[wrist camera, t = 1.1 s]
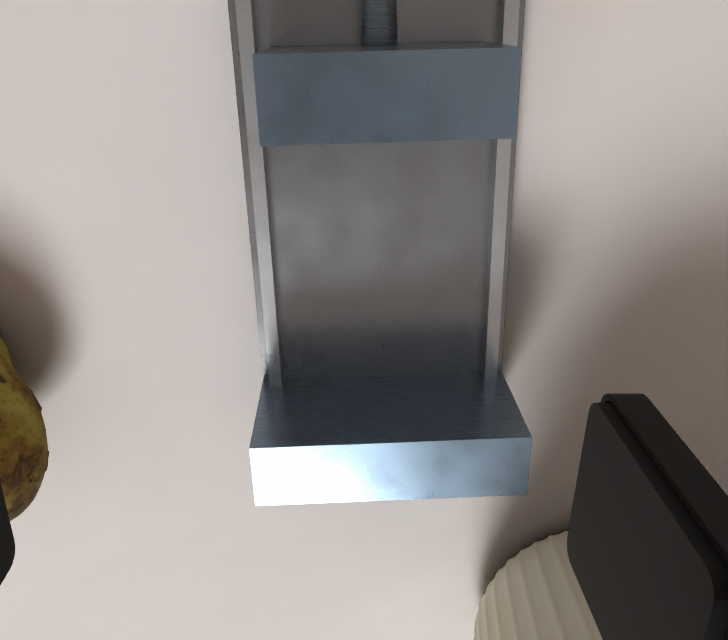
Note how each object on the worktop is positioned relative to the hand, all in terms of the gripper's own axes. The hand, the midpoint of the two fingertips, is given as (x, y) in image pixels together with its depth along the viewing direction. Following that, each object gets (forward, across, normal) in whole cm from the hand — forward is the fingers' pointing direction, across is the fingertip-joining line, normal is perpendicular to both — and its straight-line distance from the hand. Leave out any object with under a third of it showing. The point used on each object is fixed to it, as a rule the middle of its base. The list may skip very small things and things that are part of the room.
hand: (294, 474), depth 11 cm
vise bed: (+23, -3, +2) cm, 23 cm away
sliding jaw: (+21, -2, -8) cm, 23 cm away
